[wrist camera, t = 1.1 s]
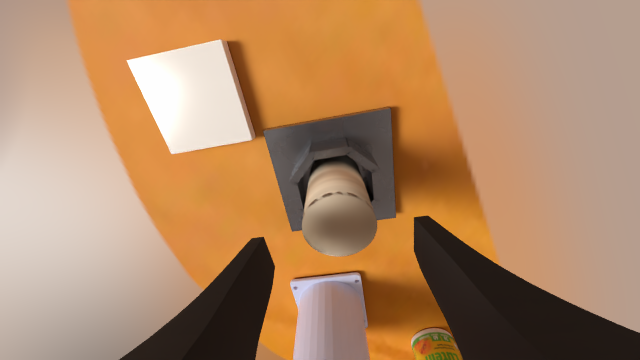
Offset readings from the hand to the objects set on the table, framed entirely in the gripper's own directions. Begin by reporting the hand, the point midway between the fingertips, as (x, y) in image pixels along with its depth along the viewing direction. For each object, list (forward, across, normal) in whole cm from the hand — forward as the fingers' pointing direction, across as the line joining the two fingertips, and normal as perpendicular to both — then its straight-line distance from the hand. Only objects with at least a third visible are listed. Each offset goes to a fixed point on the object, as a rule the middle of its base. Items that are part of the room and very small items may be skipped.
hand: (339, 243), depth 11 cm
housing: (+10, 0, +1) cm, 10 cm away
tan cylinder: (+9, 0, +1) cm, 9 cm away
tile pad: (+10, +10, -7) cm, 16 cm away
